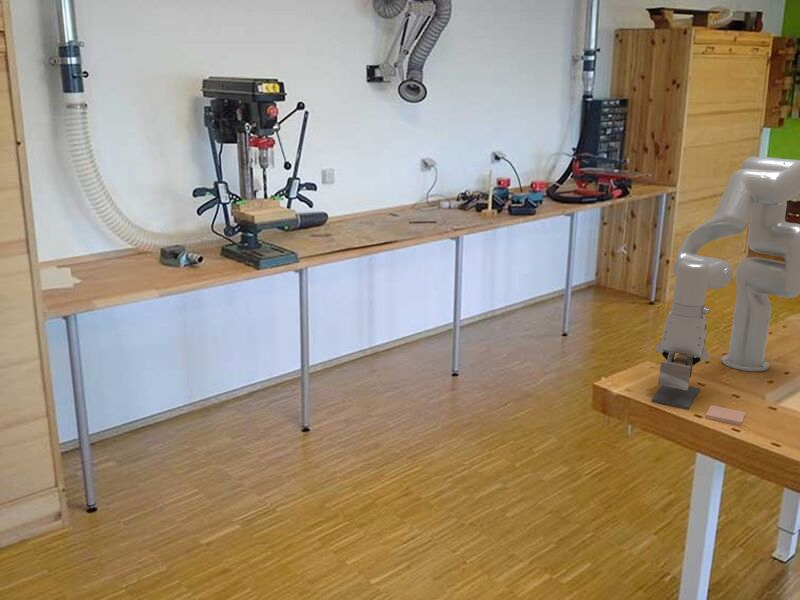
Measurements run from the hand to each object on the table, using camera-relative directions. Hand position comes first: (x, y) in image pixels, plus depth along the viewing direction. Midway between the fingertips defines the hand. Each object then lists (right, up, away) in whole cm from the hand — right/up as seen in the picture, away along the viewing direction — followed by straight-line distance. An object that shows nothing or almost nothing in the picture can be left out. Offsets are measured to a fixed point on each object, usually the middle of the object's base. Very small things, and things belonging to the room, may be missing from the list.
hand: (678, 377), depth 202 cm
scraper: (0, 0, 0) cm, 0 cm away
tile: (+9, -7, -9) cm, 14 cm away
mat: (0, -5, +1) cm, 5 cm away
